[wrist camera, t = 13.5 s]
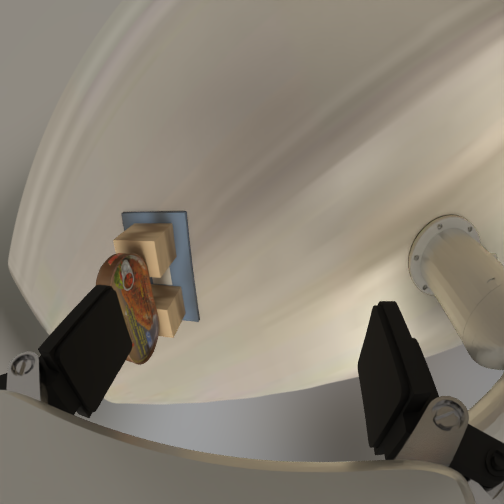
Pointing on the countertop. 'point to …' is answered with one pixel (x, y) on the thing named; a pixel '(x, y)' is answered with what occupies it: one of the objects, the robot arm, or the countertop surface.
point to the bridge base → (182, 252)
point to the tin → (133, 301)
